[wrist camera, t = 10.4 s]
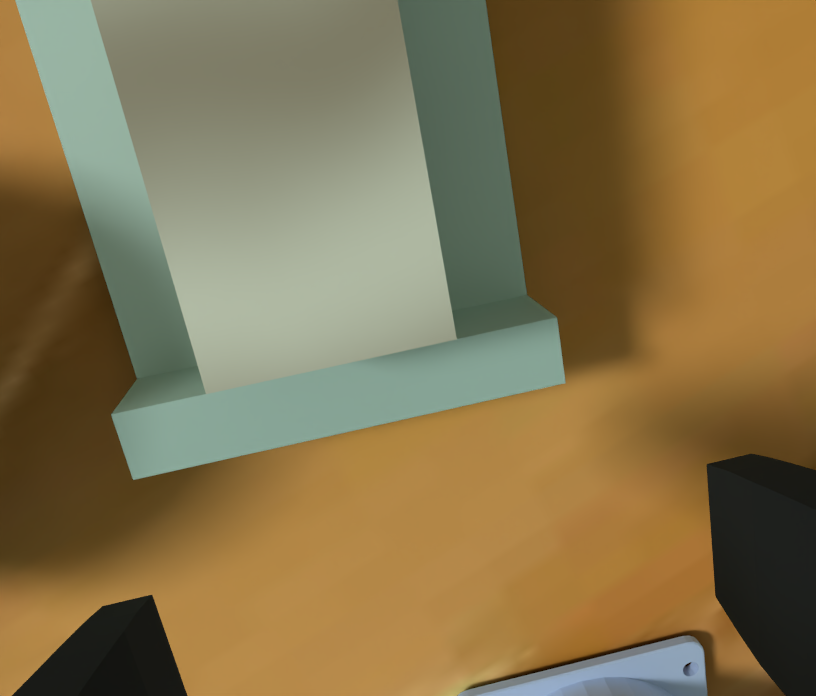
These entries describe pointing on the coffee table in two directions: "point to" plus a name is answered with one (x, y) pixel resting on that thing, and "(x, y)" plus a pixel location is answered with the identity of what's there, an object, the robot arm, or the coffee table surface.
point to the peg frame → (334, 386)
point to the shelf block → (282, 179)
